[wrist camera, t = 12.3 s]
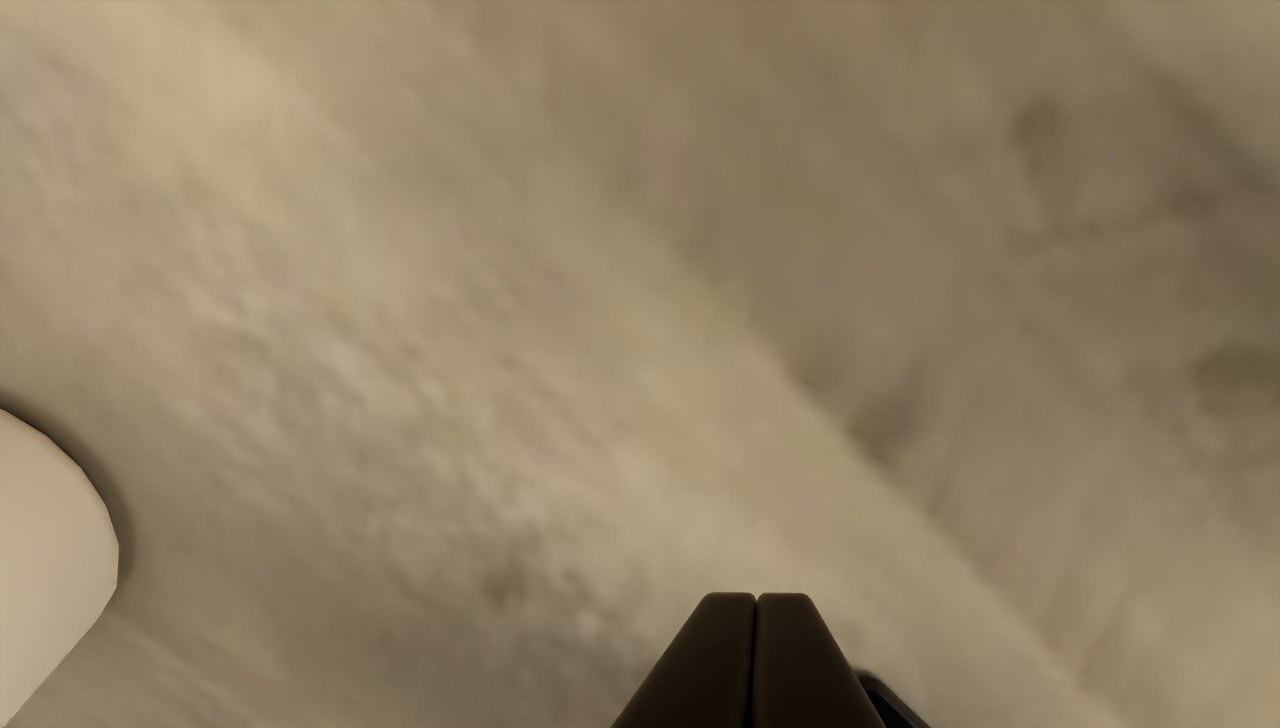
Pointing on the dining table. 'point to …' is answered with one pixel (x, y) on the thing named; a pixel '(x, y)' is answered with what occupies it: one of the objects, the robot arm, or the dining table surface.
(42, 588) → the potion bottle
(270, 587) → the dining table surface
